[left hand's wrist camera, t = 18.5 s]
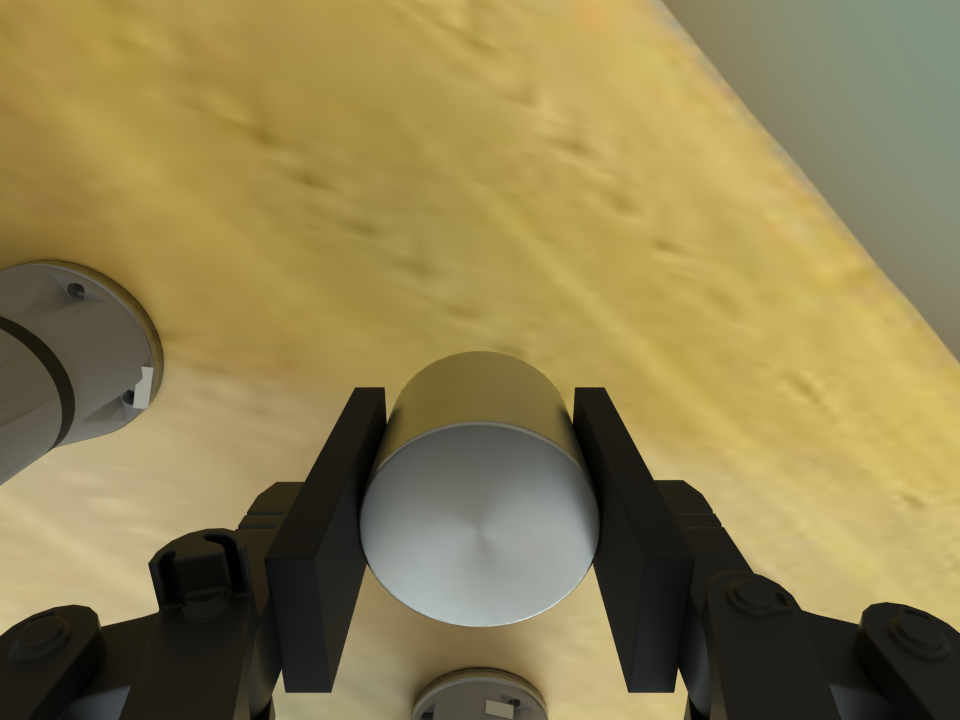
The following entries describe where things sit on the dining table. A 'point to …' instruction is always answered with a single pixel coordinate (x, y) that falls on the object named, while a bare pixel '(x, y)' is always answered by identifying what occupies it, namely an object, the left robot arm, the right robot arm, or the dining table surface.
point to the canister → (479, 495)
